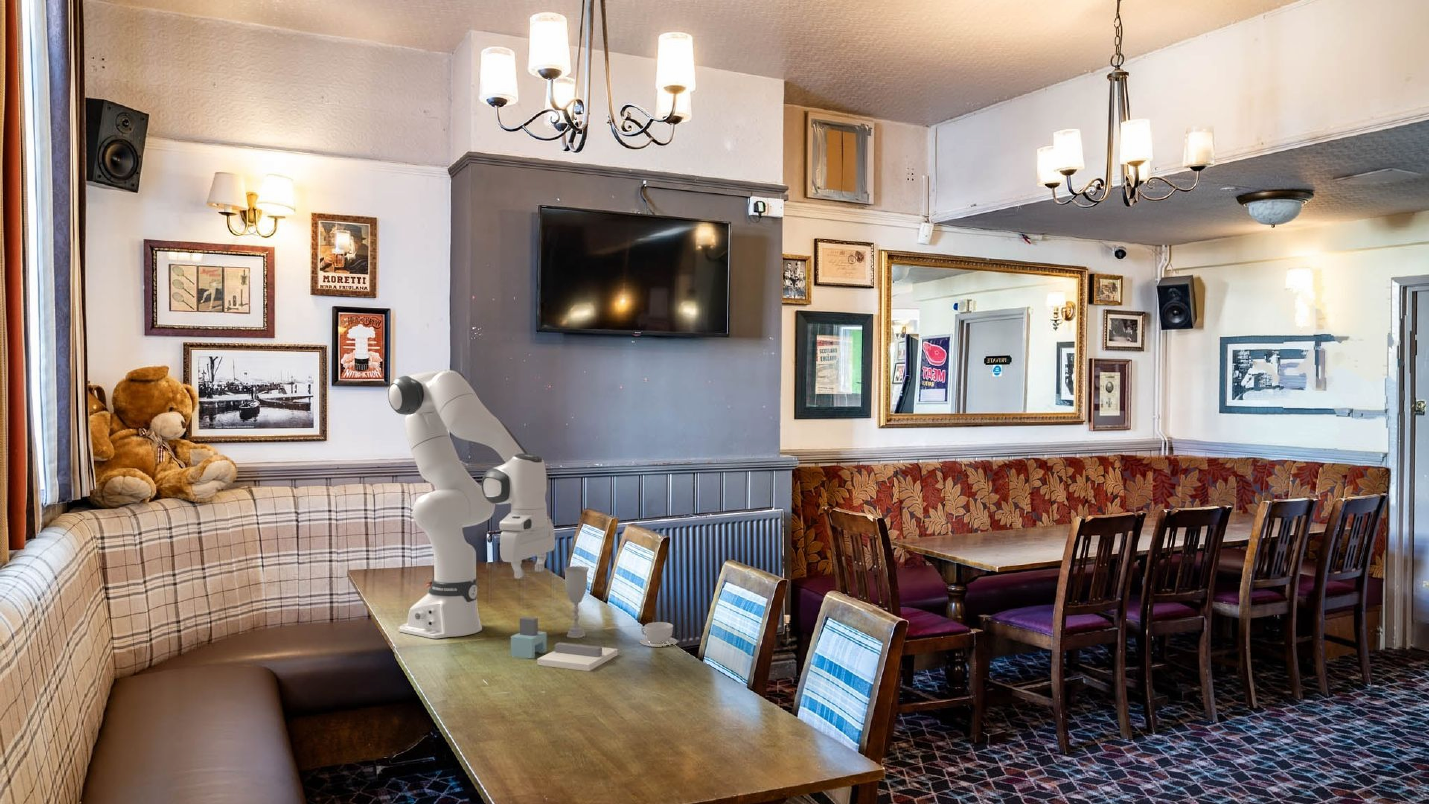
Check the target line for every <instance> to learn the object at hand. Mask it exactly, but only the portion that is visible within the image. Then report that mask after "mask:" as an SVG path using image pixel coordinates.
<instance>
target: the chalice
mask: <svg viewBox="0 0 1429 804" xmlns="http://www.w3.org/2000/svg"><path fill="white" fill-rule="evenodd" d="M589 569H590V568H589V566H582V565H581V566H580V565H577V566H576V565H574V566H568V567H567V566H566V567H564V568H563V571H564V587H565V591H566V594H567V595H568V598H569V600H570V602H571V603H572V604H573V605H574V608H573V610H572V611H573V613H574V615H573V617H572V618H573V622H574V623H573V625H572V626H570V627H569V629H568V631H567V634H566V638H570V639H571V638H572V639H581V638H584V637H585V636H586V634H585V631H584V628H583V627H582V626H581V625H579V619H580V616H579V615H578V614H579V612H580V610H579V606H578V605H579V603H581V602H582V601H583V600H584V599H583V598H584V596H585V595H586V591H587V588H588V572H589ZM583 636H584V637H583Z"/></svg>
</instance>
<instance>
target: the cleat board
mask: <svg viewBox="0 0 1429 804" xmlns="http://www.w3.org/2000/svg"><path fill="white" fill-rule="evenodd" d="M618 655H619V651H618V648H614V647H613V648H611V647H605V646H604V647H603V646H595V645H586V644H578V643H577V644H576V643H568V642H557V643H555V644H554V650H552V651H550V652H549V653H546V654H545V655H542V656H540V657H538V658H537V659H536V662H537V664H536V665H537V666H543V667H551V668H559V669H568V670H575V671H584V672H590V671H592V670H594V669H596V668H597V667H600V666H602V665H603V664H604V663H606V662H608V661H610V660H611V659H614V658H615V657H617V656H618Z"/></svg>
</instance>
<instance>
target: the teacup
mask: <svg viewBox="0 0 1429 804" xmlns="http://www.w3.org/2000/svg"><path fill="white" fill-rule="evenodd" d="M673 629H674V625H673V624H672V623H669V622H665V621H664V622H663V621H661V622H660V621H657V622H648V623H645V624H644V626H642V627H641V629H640V632H641V634H642V635H643V636H644V638H642V639H640V640H639V643H640V644H641V645H643V646H646V647H654V648H655V647H657V648H658V647H660V648H661V647H662V646H657V645H650V644H663V643H664V644H667V643H666V641H668V642H669V643H670V644H673V645H676V644H677V643H678V639H676V638H673V637H672V636H673ZM648 641H650V643H649V642H648ZM670 644H668V645H669V646H671V645H670ZM673 645H672V646H673ZM664 647H667V646H666V645H665V646H664Z"/></svg>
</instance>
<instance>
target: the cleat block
mask: <svg viewBox="0 0 1429 804" xmlns="http://www.w3.org/2000/svg"><path fill="white" fill-rule="evenodd" d="M547 635H548V634H547V632H546V631H539V618H537V617H532V616H531V617H530V616H523V617H521V618H519V632H518V633H515V634H513V635H511V636H510V657H511V656H514V657H513V658H518V657H520V658H519V659H526V658H533V659H535V658H536V653H535V652H539V653H538V654H545V653H547V649H548V648H547ZM544 652H545V653H544Z"/></svg>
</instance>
